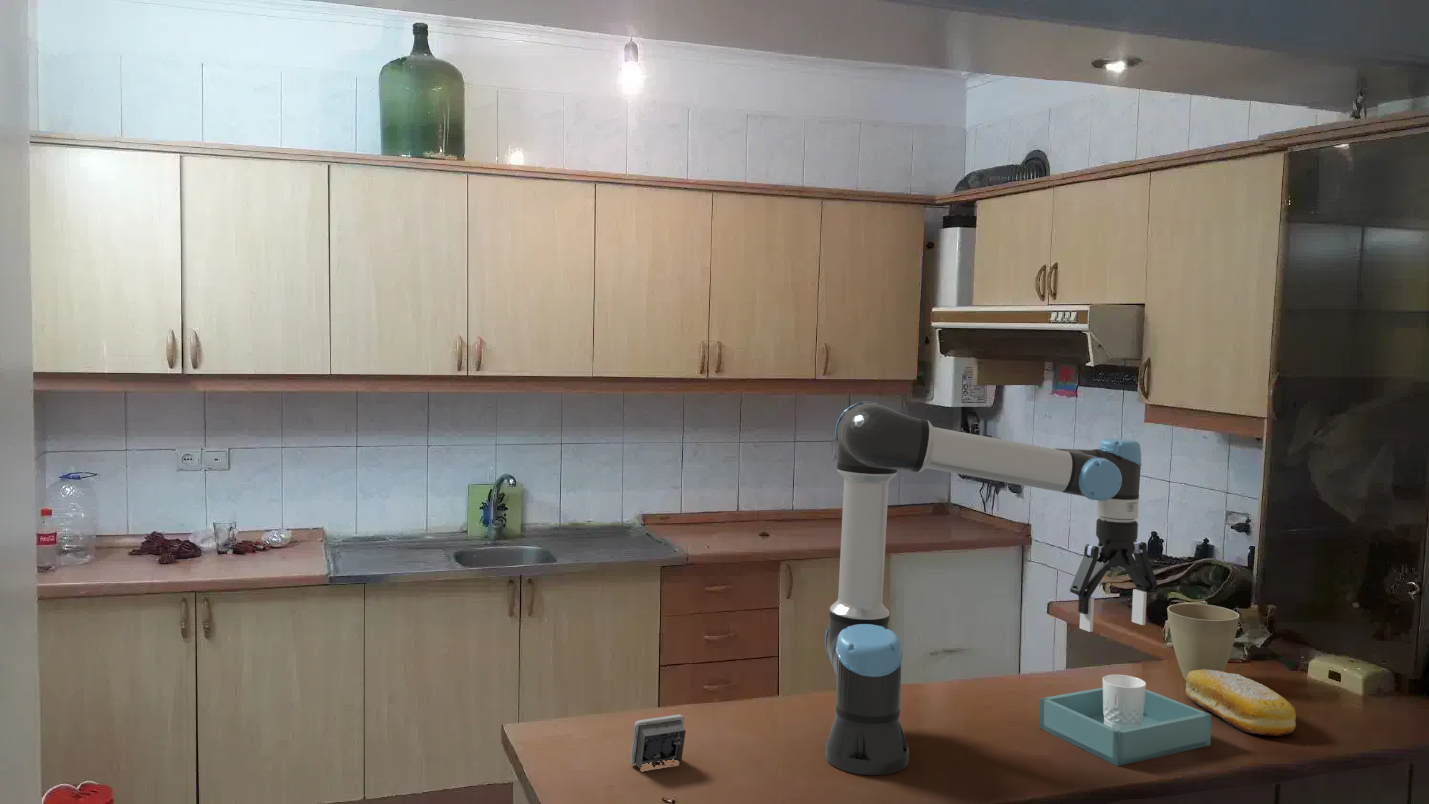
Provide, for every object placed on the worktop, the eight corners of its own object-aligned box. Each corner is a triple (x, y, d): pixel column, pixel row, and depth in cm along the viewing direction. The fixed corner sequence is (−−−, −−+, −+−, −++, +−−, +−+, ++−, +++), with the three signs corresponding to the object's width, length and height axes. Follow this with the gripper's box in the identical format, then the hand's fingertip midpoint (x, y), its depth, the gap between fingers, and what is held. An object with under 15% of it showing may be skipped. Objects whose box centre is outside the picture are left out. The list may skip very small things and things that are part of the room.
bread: (1250, 743, 198) (1251, 703, 197) (1168, 696, 224) (1170, 660, 223) (1312, 740, 200) (1314, 700, 199) (1224, 693, 226) (1226, 658, 225)
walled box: (1117, 766, 186) (1118, 733, 185) (1039, 728, 204) (1040, 698, 203) (1210, 745, 196) (1211, 714, 196) (1127, 710, 214) (1128, 682, 214)
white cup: (1153, 735, 198) (1155, 684, 197) (1121, 741, 195) (1123, 689, 194) (1122, 721, 205) (1124, 672, 204) (1092, 726, 202) (1093, 677, 201)
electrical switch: (677, 757, 188) (679, 709, 186) (688, 771, 183) (690, 722, 182) (629, 765, 184) (630, 716, 183) (638, 779, 179) (640, 729, 178)
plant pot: (1183, 665, 245) (1186, 599, 244) (1248, 681, 233) (1251, 612, 232) (1152, 678, 235) (1154, 609, 234) (1218, 695, 224) (1221, 623, 223)
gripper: (1082, 525, 190) (1077, 638, 192) (1179, 518, 201) (1174, 625, 202) (1053, 519, 197) (1049, 627, 198) (1149, 512, 207) (1144, 615, 209)
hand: (1112, 626), depth 200 cm, fingers open, 13 cm apart
